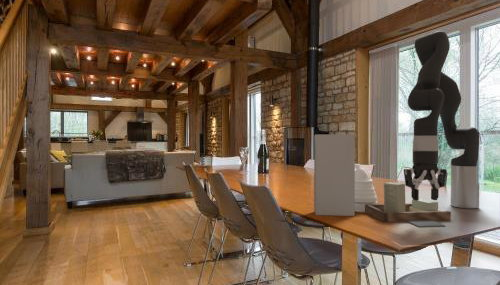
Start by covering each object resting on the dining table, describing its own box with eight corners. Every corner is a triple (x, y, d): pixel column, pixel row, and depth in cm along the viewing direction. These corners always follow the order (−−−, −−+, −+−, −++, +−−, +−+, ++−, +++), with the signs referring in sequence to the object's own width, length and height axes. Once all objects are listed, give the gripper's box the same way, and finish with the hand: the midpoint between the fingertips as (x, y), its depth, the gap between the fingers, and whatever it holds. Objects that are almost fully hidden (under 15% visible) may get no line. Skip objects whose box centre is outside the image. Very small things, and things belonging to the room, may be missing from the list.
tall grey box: (351, 212, 126) (351, 134, 125) (354, 215, 120) (355, 134, 120) (314, 211, 127) (314, 134, 127) (315, 214, 121) (315, 134, 121)
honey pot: (337, 207, 136) (337, 163, 136) (361, 204, 141) (361, 163, 141) (359, 213, 124) (359, 166, 124) (384, 210, 130) (384, 165, 129)
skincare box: (406, 217, 118) (406, 183, 118) (397, 218, 116) (398, 184, 116) (391, 213, 124) (391, 181, 123) (383, 215, 121) (383, 182, 121)
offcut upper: (421, 206, 125) (421, 198, 125) (438, 210, 118) (438, 202, 118) (411, 207, 123) (411, 199, 123) (427, 211, 116) (427, 202, 116)
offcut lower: (426, 214, 125) (426, 206, 125) (442, 219, 116) (443, 211, 116) (409, 214, 124) (409, 206, 124) (424, 220, 115) (424, 211, 115)
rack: (423, 210, 129) (423, 203, 129) (450, 220, 113) (450, 211, 113) (365, 212, 126) (365, 204, 126) (384, 221, 111) (384, 213, 111)
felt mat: (431, 221, 112) (431, 219, 112) (445, 226, 105) (445, 225, 105) (406, 221, 111) (406, 220, 111) (418, 227, 104) (418, 225, 104)
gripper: (438, 149, 113) (437, 197, 113) (398, 149, 111) (398, 198, 111) (453, 149, 105) (453, 201, 105) (411, 149, 104) (410, 202, 104)
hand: (424, 199), depth 108 cm, fingers open, 6 cm apart
